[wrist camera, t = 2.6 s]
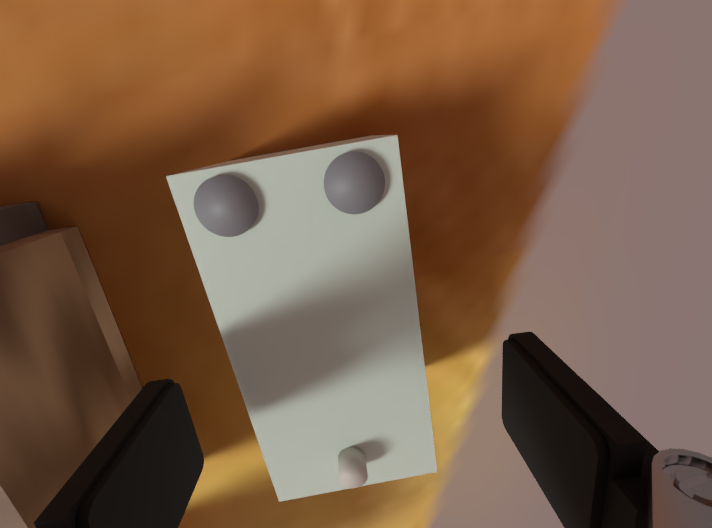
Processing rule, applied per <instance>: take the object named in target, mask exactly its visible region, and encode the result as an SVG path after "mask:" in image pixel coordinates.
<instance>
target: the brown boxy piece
mask: <svg viewBox="0 0 712 528" xmlns="http://www.w3.org/2000/svg"><path fill="white" fill-rule="evenodd" d="M141 390H142V386H141V384H140V381H139V379H138V376H137V374H136V371H135V369H134V366H133V364H132V361H131V359H130V356H129V354H128V351H127V349H126V346H125V344H124V341H123V339H122V336H121V334H120V331H119V329H118V326H117V324H116V321H115V319H114V316H113V314H112V311H111V309H110V306H109V304H108V301H107V299H106V296H105V294H104V291H103V289H102V286H101V284H100V281H99V279H98V276H97V274H96V271H95V269H94V266H93V264H92V261H91V259H90V256H89V254H88V251H87V249H86V246H85V244H84V241H83V239H82V236H81V234H80V231H79V229H78V226H75V227H67V228H59V229H51V230H48V228H47V226H46V223H45V221H44V219H43V216H42V214H41V212H40V209H39V207H38V205H37V202H28V203H20V204H12V205H4V206H0V528H36V527H35V525H34V522H35V520H36V519H37V518H38V517H39V515H40V514H41V513H42V512H43V510H44V509H45V508H46V507H47V505H48V504H49V503H50V502H51V501H52V499H53V498H54V497H55V496H56V494H57V493H58V492H59V491H60V489H61V488H62V487H63V486H64V485H65V483H66V482H67V481H68V480H69V478H70V477H71V476H72V475H73V473H74V472H75V471H76V470H77V468H78V467H79V466H80V465H81V464H82V462H83V461H84V460H85V459H86V457H87V456H88V455H89V454H90V452H91V451H92V450H93V449H94V448H95V446H96V445H97V444H98V443H99V441H100V440H101V439H102V438H103V436H104V435H105V434H106V433H107V431H108V430H109V429H110V428H111V427H112V425H113V424H114V423H115V422H116V420H117V419H118V418H119V417H120V415H121V414H122V413H123V412H124V411H125V409H126V408H127V407H128V406H129V404H130V403H131V402H132V401H133V399H134V398H135V397H136V396H137V394H138V393H139V392H140V391H141Z"/></svg>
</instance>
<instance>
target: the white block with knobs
mask: <svg viewBox="0 0 712 528" xmlns="http://www.w3.org/2000/svg"><path fill="white" fill-rule="evenodd" d="M166 178H167V181H168V184H169V187H170V190H171V193H172V196H173V198H174V201H175V204H176V207H177V210H178V213H179V216H180V219H181V221H182V224H183V227H184V230H185V233H186V236H187V239H188V242H189V244H190V247H191V250H192V253H193V256H194V259H195V262H196V265H197V267H198V270H199V273H200V276H201V279H202V282H203V285H204V288H205V290H206V293H207V296H208V299H209V302H210V305H211V308H212V311H213V313H214V316H215V319H216V322H217V325H218V328H219V331H220V334H221V336H222V339H223V342H224V345H225V348H226V351H227V354H228V357H229V359H230V362H231V365H232V368H233V371H234V374H235V377H236V380H237V382H238V385H239V388H240V391H241V394H242V397H243V400H244V403H245V405H246V408H247V411H248V414H249V417H250V420H251V423H252V426H253V428H254V431H255V434H256V437H257V440H258V443H259V446H260V449H261V451H262V454H263V457H264V460H265V463H266V466H267V469H268V472H269V474H270V477H271V480H272V483H273V486H274V489H275V492H276V495H277V497H278V500H279V502H281V501H287V500H292V499H297V498H302V497H308V496H313V495H318V494H323V493H329V492H334V491H339V490H345V489H350V488H358V487H360V486H366V485H371V484H376V483H381V482H387V481H392V480H397V479H402V478H408V477H413V476H418V475H424V474H429V473H434V472H437V465H436V457H435V448H434V440H433V431H432V423H431V414H430V406H429V397H428V389H427V380H426V372H425V363H424V355H423V347H422V338H421V330H420V321H419V313H418V304H417V296H416V287H415V279H414V270H413V262H412V253H411V245H410V237H409V228H408V220H407V211H406V203H405V194H404V186H403V177H402V169H401V160H400V152H399V144H398V135H371V136H365V137H359V138H354V139H348V140H343V141H337V142H332V143H326V144H320V145H315V146H309V147H304V148H298V149H292V150H287V151H281V152H276V153H270V154H264V155H259V156H253V157H248V158H242V159H236V160H231V161H226V162H222V163H218V164H214V165H210V166H206V167H201V168H197V169H193V170H189V171H185V172H181V173H177V174H173V175H169V176H166Z"/></svg>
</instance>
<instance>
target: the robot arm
mask: <svg viewBox="0 0 712 528" xmlns="http://www.w3.org/2000/svg"><path fill="white" fill-rule="evenodd" d="M502 373H503V374H502V419H503V424H504V426H505V429H506V430H507V432H508V434H509V435H510V437H511V439H512V441H513V442H514V443H515V446H516V447H517V449H518V450H519V452H520V454H521V456H522V457H523V459H524V461H525V462H526V464H527V466H528V467H529V469H530V471H531V472H532V474H533V476H534V477H535V479H536V481H537V482H538V484H539V486H540V487H541V489H542V491H543V492H544V494H545V496H546V497H547V499H548V501H549V502H550V504H551V506H552V507H553V509H554V511H555V512H556V514H557V516H558V518H559V519H560V521H561V523H562V524H563V526H564V527H565V528H712V458H711V457H708V456H705V455H703V454H700V453H697V452H693V451H689V450H684V449H667V450H662V451H660V452H659V451H658V450H657V449H656V448H655V447H654V446H653V445H651V444H650V443H649V442H648V441H647V440H646V439H645V438H644V437H643V436H642V435H641V434H640V433H639V432H638V431H637V430H636V429H635V428H633V427H632V426H631V425H630V424H629V423H628V422H627V421H626V420H625V419H624V418H623V417H621V415H619V413H618V412H617V411H615V410H614V409H613V408H612V407H611V406H610V405H609V404H608V403H607V402H606V401H605V400H604V399H603V398H602V397H601V396H600V395H599V394H598V393H596V392H595V391H594V390H593V389H592V388H591V387H590V386H589V385H588V384H587V383H586V382H585V381H583V379H581V378H580V377H579V376H578V375H577V374H576V373H575V372H574V371H573V370H572V369H571V368H570V367H568V366H567V365H566V364H565V363H564V362H563V361H562V360H561V359H560V358H559V357H558V356H557V355H556V354H555V353H554V352H553V351H552V350H551V349H550V348H548V347H547V346H546V345H545V344H544V343H543V342H542V341H541V340H540V339H539V338H538V337H537V336H536V335H535V334H533V333H532V332H524V333H516V334H511V335H509V338H508V340H505V341H504V342H503V371H502ZM203 464H204V457H203V453H202V450H201V447H200V444H199V441H198V438H197V435H196V432H195V429H194V425H193V422H192V419H191V416H190V413H189V410H188V407H187V404H186V401H185V398H184V395H183V392H182V389H181V386H180V385H179V384H178V383H174V381H173V380H171V379H165V380H157V381H150V382H148V383H147V384H146V385H145V386H144V387H143V388H142V390H141V391H140V392H139V393H138V394H137V396H136V397H135V398H134V399H133V401H132V402H131V403H130V404H129V406H128V407H127V408H126V409H125V411H124V412H123V413H122V414H121V415H120V417H119V418H118V419H117V420H116V422H115V423H114V424H113V425H112V427H111V428H110V429H109V430H108V431H107V433H106V434H105V435H104V436H103V438H102V439H101V440H100V441H99V443H98V444H97V445H96V446H95V448H94V449H93V450H92V451H91V452H90V454H89V455H88V456H87V457H86V459H85V460H84V461H83V462H82V464H81V465H80V466H79V467H78V468H77V470H76V471H75V472H74V473H73V475H72V476H71V477H70V478H69V480H68V481H67V482H66V483H65V485H64V486H63V487H62V488H61V489H60V491H59V492H58V493H57V494H56V496H55V497H54V498H53V499H52V501H51V502H50V503H49V504H48V505H47V507H46V508H45V509H44V510H43V512H42V513H41V514H40V515H39V517H38V518H37V519H36V520H35V522H34V525H35V527H36V528H178V526H179V524H180V522H181V519H182V517H183V515H184V512H185V510H186V507H187V505H188V503H189V500H190V498H191V495H192V493H193V491H194V488H195V486H196V484H197V481H198V479H199V476H200V474H201V472H202V469H203Z"/></svg>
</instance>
